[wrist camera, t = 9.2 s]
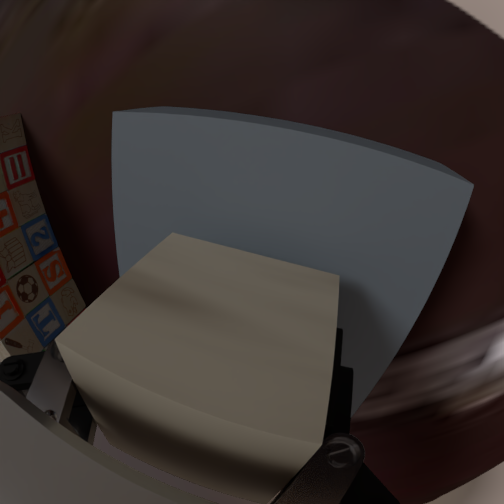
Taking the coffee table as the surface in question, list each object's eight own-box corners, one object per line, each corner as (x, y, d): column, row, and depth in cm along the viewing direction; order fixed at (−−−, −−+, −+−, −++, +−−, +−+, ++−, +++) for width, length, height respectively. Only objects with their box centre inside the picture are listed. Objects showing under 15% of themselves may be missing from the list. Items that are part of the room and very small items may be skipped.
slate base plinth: (353, 369, 18) (350, 418, 15) (161, 314, 21) (132, 350, 17) (440, 163, 11) (474, 185, 8) (162, 106, 14) (112, 111, 10)
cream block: (297, 383, 13) (265, 504, 7) (175, 345, 14) (110, 444, 8) (339, 275, 10) (321, 444, 4) (172, 232, 11) (54, 339, 5)
